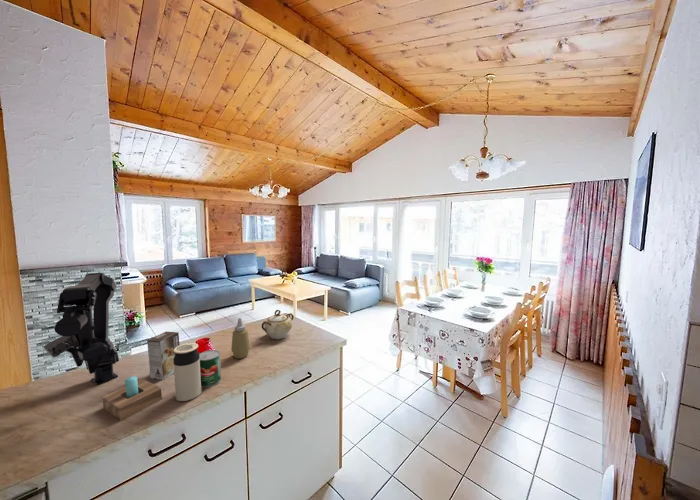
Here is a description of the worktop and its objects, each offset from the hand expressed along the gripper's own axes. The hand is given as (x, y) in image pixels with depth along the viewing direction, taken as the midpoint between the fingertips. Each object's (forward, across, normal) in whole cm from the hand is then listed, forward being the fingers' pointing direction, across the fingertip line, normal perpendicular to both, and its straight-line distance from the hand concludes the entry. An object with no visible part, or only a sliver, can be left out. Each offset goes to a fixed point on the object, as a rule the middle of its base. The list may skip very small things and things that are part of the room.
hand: (85, 369), depth 92 cm
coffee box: (+13, +2, +24) cm, 27 cm away
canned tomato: (+13, +23, +28) cm, 39 cm away
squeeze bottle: (+13, +18, +48) cm, 53 cm away
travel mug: (+13, +24, +19) cm, 34 cm away
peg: (+13, +12, +7) cm, 19 cm away
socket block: (+13, +12, +8) cm, 19 cm away
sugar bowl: (+13, +18, +73) cm, 77 cm away
